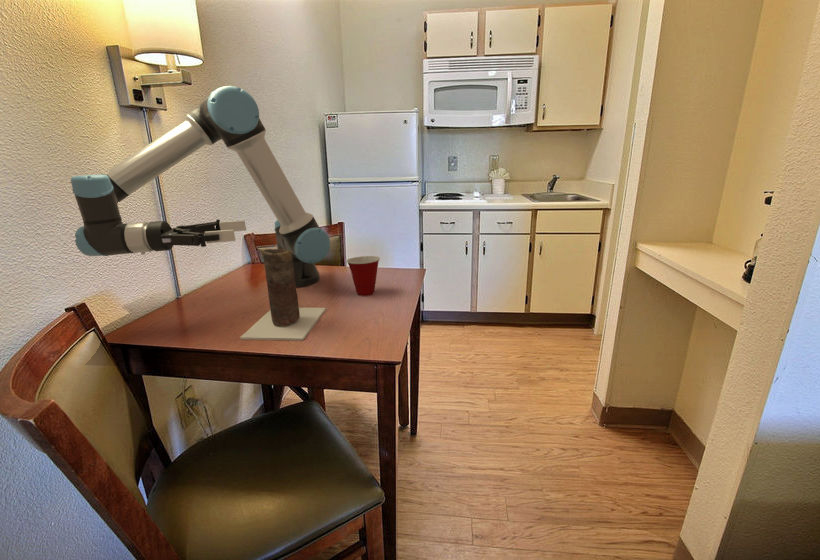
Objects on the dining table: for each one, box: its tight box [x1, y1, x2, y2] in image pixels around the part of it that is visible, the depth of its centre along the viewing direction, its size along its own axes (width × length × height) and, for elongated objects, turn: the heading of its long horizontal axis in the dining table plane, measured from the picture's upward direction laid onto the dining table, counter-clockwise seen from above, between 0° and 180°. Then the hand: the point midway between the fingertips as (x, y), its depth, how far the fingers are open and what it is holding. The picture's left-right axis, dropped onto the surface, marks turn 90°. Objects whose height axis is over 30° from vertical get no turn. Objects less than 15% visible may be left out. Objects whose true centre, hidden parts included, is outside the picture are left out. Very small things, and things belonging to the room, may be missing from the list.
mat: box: [239, 307, 327, 342], centre depth 105 cm, size 20×16×1 cm
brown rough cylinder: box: [262, 248, 300, 326], centre depth 102 cm, size 8×7×20 cm
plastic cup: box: [346, 255, 381, 297], centre depth 126 cm, size 11×11×12 cm
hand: (240, 230), depth 101 cm, fingers open, 13 cm apart
